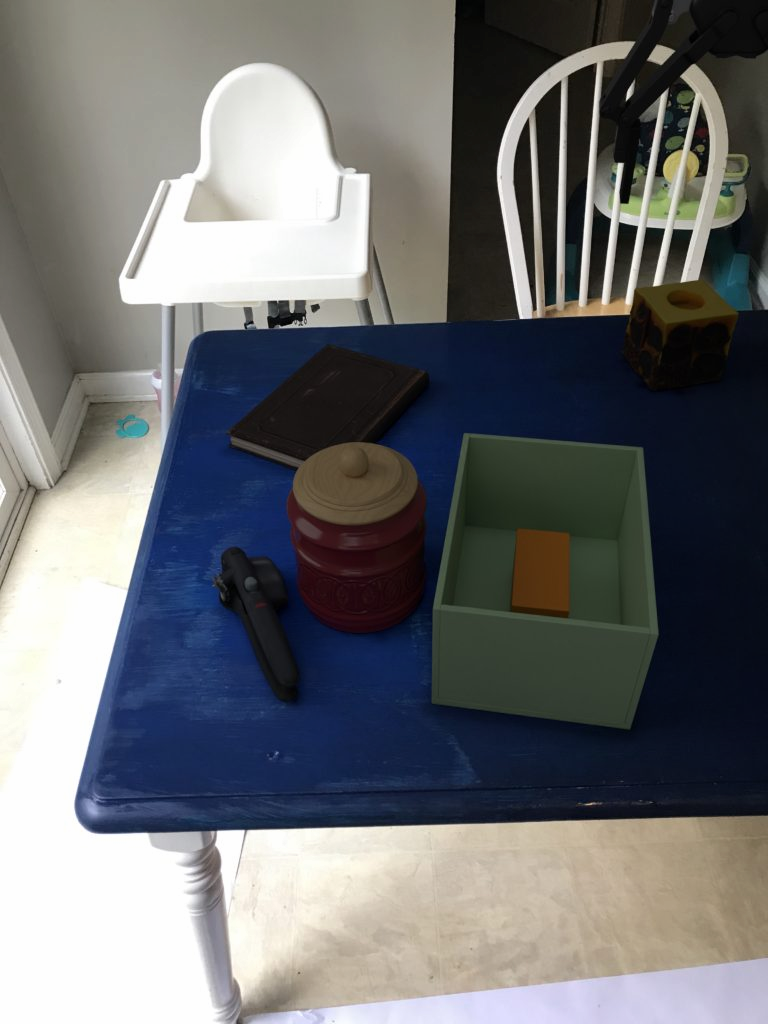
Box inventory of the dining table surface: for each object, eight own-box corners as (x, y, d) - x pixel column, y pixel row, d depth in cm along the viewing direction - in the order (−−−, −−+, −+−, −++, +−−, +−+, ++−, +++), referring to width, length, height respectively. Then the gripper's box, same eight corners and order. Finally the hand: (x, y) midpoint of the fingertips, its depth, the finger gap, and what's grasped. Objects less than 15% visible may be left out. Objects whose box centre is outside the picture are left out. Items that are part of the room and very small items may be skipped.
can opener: (210, 583, 85) (200, 545, 82) (275, 564, 87) (268, 525, 83) (253, 720, 73) (244, 682, 69) (328, 695, 75) (323, 656, 71)
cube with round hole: (650, 393, 108) (665, 325, 102) (618, 353, 116) (630, 287, 109) (722, 382, 110) (742, 314, 103) (686, 343, 117) (702, 277, 110)
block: (562, 575, 84) (569, 532, 80) (561, 654, 76) (569, 611, 72) (512, 570, 84) (517, 528, 80) (506, 648, 77) (511, 605, 73)
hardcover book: (229, 446, 103) (225, 432, 101) (328, 357, 117) (327, 343, 116) (338, 485, 96) (337, 470, 95) (429, 386, 111) (429, 371, 109)
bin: (621, 542, 88) (643, 447, 79) (630, 729, 71) (658, 634, 63) (459, 526, 91) (463, 432, 82) (431, 703, 74) (432, 608, 65)
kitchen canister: (387, 656, 78) (381, 517, 66) (273, 607, 83) (249, 470, 71) (447, 567, 86) (452, 430, 74) (341, 528, 91) (329, 393, 79)
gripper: (933, -95, 62) (838, 190, 76) (592, -90, 66) (562, 180, 80) (967, -80, 56) (857, 224, 71) (593, -76, 60) (560, 212, 75)
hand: (700, 201), depth 75 cm, fingers open, 13 cm apart
